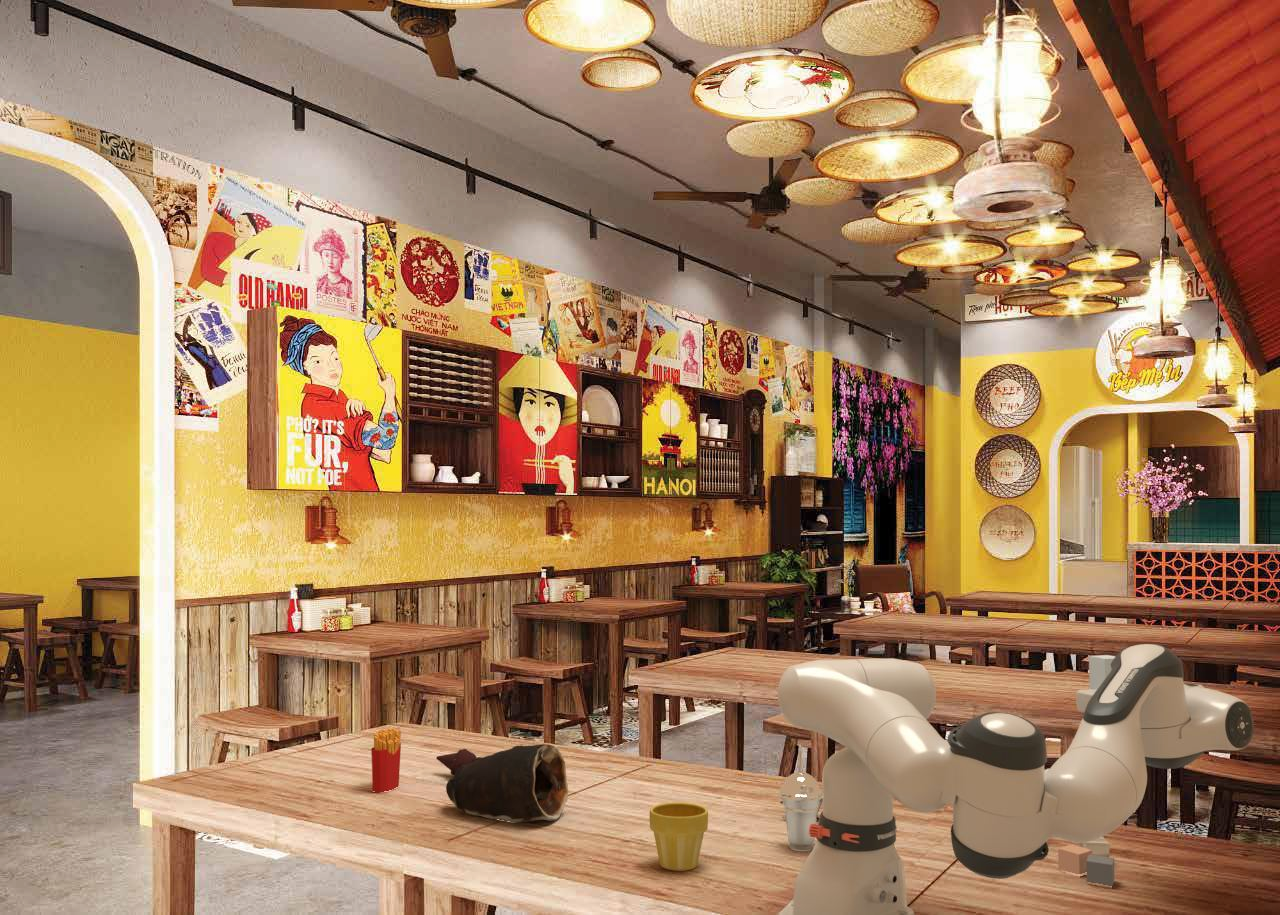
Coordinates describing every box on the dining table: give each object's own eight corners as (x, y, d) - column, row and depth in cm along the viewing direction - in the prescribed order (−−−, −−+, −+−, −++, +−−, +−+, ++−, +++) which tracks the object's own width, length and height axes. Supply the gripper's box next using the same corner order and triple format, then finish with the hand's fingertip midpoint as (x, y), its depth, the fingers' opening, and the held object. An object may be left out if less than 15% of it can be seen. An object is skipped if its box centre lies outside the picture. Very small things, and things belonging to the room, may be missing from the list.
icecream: (425, 750, 250) (476, 763, 243) (445, 737, 256) (496, 749, 249) (427, 777, 251) (479, 791, 244) (447, 763, 258) (498, 776, 251)
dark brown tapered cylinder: (458, 744, 232) (559, 731, 223) (473, 813, 232) (576, 803, 223) (421, 768, 218) (528, 756, 209) (438, 841, 218) (545, 832, 209)
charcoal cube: (1112, 889, 178) (1112, 864, 178) (1086, 885, 180) (1086, 861, 180) (1114, 881, 181) (1114, 858, 182) (1089, 877, 183) (1088, 854, 184)
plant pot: (673, 851, 196) (673, 798, 197) (719, 863, 190) (719, 808, 190) (637, 866, 188) (637, 810, 189) (684, 879, 182) (684, 820, 182)
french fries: (382, 794, 235) (383, 735, 236) (366, 792, 236) (367, 733, 237) (405, 784, 244) (406, 727, 244) (389, 783, 245) (390, 725, 246)
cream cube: (1109, 866, 189) (1109, 843, 190) (1086, 865, 190) (1085, 842, 190) (1103, 859, 193) (1102, 836, 194) (1080, 857, 194) (1079, 835, 194)
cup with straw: (833, 847, 199) (832, 739, 200) (806, 858, 192) (806, 747, 193) (794, 838, 205) (794, 732, 206) (767, 848, 198) (767, 740, 199)
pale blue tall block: (1125, 750, 185) (1123, 657, 186) (1106, 752, 184) (1104, 658, 185) (1109, 745, 189) (1107, 655, 190) (1090, 747, 188) (1088, 655, 189)
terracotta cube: (1079, 878, 183) (1079, 854, 184) (1058, 871, 187) (1058, 848, 187) (1092, 873, 186) (1092, 850, 186) (1071, 867, 189) (1071, 844, 189)
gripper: (1110, 729, 171) (1053, 714, 185) (1212, 723, 177) (1150, 708, 190) (1109, 690, 172) (1053, 677, 185) (1211, 684, 178) (1149, 672, 191)
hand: (1103, 693), depth 188 cm, fingers closed on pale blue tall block, 4 cm apart
